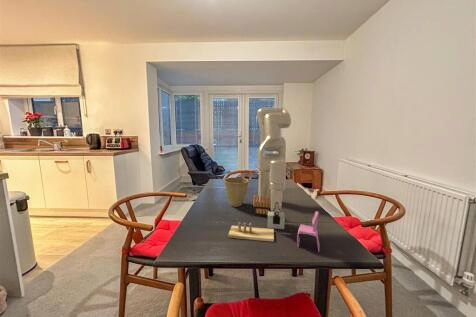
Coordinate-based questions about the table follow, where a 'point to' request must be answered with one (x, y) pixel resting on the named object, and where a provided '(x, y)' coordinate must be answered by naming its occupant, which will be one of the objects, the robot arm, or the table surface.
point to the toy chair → (309, 229)
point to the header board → (251, 233)
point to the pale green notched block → (276, 226)
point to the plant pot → (236, 190)
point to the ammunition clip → (261, 206)
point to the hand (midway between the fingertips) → (276, 219)
